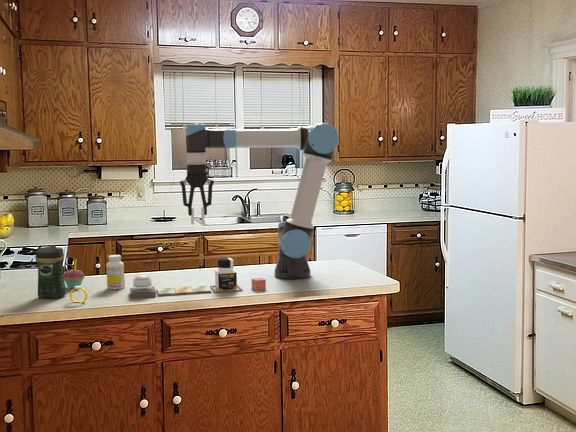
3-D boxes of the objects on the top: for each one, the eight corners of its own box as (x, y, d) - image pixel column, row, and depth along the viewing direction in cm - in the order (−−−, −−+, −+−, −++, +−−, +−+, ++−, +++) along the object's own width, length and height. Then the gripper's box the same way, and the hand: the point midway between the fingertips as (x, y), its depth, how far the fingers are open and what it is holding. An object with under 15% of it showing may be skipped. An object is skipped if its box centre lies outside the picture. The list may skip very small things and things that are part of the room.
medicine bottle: (218, 291, 252) (217, 260, 251) (215, 287, 259) (214, 257, 257) (237, 290, 254) (236, 259, 253) (233, 286, 261) (232, 256, 259)
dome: (150, 283, 251) (150, 274, 251) (152, 286, 245) (151, 277, 244) (133, 284, 249) (132, 275, 249) (133, 287, 243) (133, 279, 243)
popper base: (154, 291, 253) (154, 285, 253) (155, 296, 244) (155, 290, 244) (130, 293, 251) (129, 287, 250) (130, 298, 242) (130, 292, 242)
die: (260, 287, 258) (260, 277, 258) (265, 289, 255) (265, 279, 254) (251, 288, 256) (251, 278, 256) (256, 290, 253) (256, 280, 252)
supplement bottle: (115, 285, 264) (114, 253, 262) (128, 287, 261) (127, 254, 259) (103, 289, 258) (102, 256, 256) (116, 290, 255) (115, 257, 253)
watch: (88, 302, 238) (88, 286, 237) (85, 304, 235) (85, 287, 235) (71, 301, 238) (72, 285, 238) (68, 303, 236) (69, 286, 235)
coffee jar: (69, 294, 249) (66, 245, 247) (59, 299, 241) (57, 249, 239) (44, 294, 250) (42, 245, 248) (34, 299, 242) (31, 248, 240)
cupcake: (89, 286, 262) (88, 256, 261) (72, 290, 255) (71, 260, 254) (74, 284, 267) (73, 254, 265) (57, 288, 260) (56, 258, 258)
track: (207, 287, 260) (207, 285, 259) (211, 292, 250) (211, 290, 250) (156, 290, 254) (156, 288, 254) (158, 296, 245) (158, 294, 245)
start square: (237, 285, 263) (237, 284, 263) (242, 290, 253) (242, 289, 253) (210, 286, 260) (210, 285, 260) (214, 292, 250) (214, 291, 250)
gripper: (215, 163, 264) (217, 221, 267) (174, 163, 260) (175, 223, 262) (218, 163, 257) (220, 223, 259) (176, 164, 252) (177, 225, 255)
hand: (197, 223), depth 261 cm, fingers open, 3 cm apart
